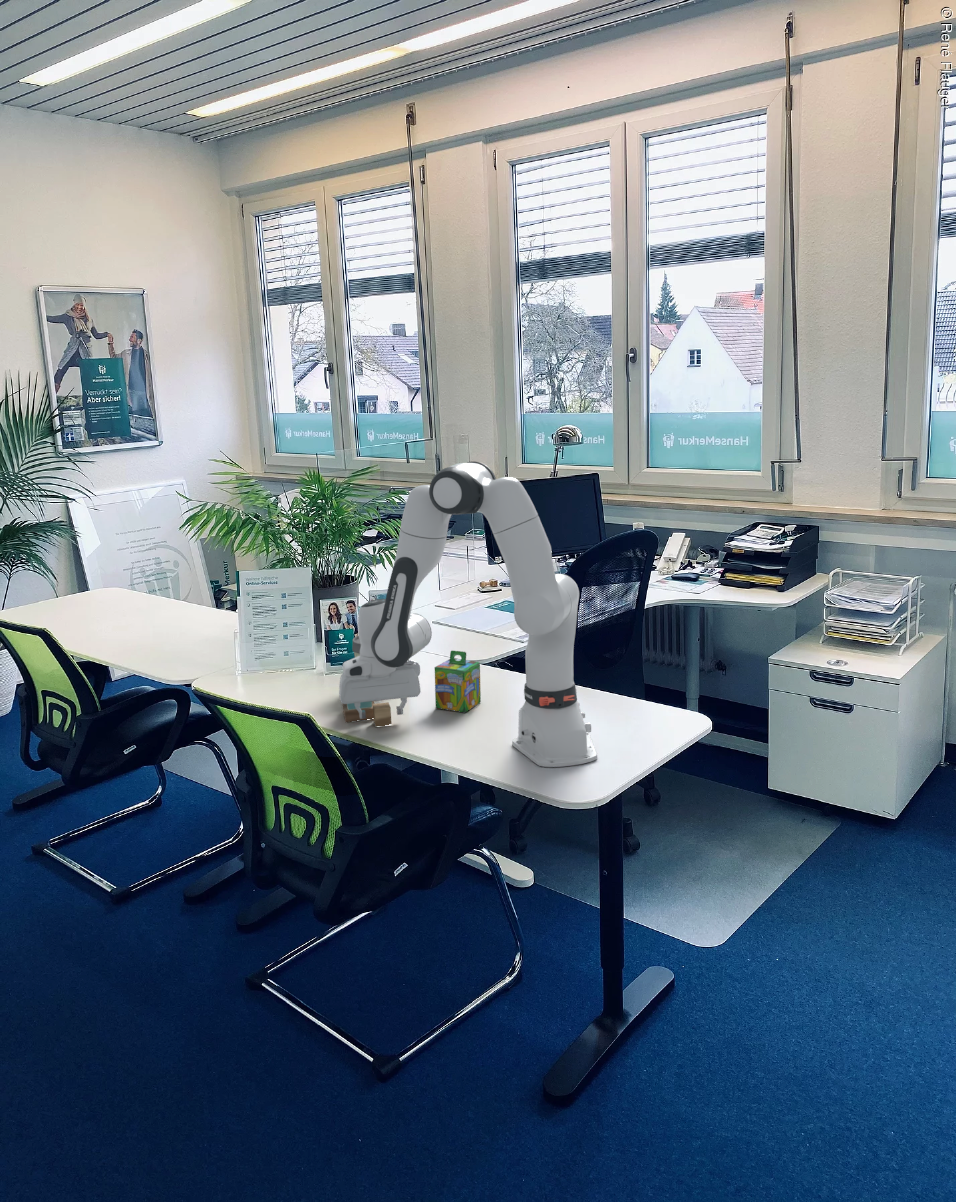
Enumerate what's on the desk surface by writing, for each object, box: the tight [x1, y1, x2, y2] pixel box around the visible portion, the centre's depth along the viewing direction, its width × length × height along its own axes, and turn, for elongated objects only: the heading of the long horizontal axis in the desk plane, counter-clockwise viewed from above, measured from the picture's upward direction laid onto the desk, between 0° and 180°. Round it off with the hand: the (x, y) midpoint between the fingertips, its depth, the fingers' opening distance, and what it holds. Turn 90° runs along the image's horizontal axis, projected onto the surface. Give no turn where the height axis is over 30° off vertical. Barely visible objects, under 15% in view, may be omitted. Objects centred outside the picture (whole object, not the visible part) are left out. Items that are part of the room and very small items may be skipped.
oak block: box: [373, 701, 393, 726], centre depth 241 cm, size 4×4×5 cm
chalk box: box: [434, 650, 482, 713], centre depth 251 cm, size 9×9×15 cm
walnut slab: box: [341, 701, 376, 723], centre depth 248 cm, size 8×8×3 cm
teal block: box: [347, 701, 372, 710], centre depth 247 cm, size 6×6×5 cm
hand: (381, 715), depth 242 cm, fingers open, 8 cm apart
